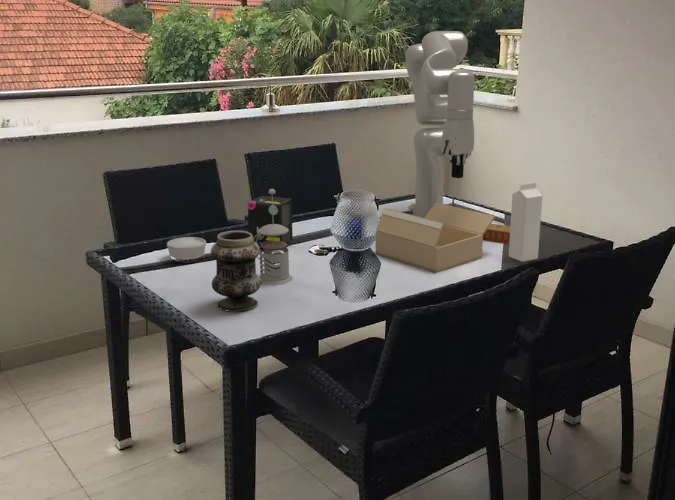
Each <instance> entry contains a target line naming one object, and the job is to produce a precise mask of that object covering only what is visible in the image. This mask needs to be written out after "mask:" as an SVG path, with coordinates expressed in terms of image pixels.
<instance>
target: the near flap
mask: <svg viewBox="0 0 675 500" xmlns="http://www.w3.org/2000/svg"><path fill="white" fill-rule="evenodd" d="M444 224H445V223H442V222H438V221H434V220H430V219H426V218H422V217H418V216H414V215H412V214H410V213H406V212H402V211H398V210H394V209H391V208H387V207H384V209H383V212H382V214H381V217H380V219H379V222H378V224H377V227H376V229H375V231H381V232H384V233H388V234H391V235H395V236H398V237H402V238H405V239H409V240H412V241H416V242H419V243H423V244H426V245H430V246H433V247H436V245H437V242H438V240H439V237H440V235H441V232H442V229H443V227H444Z"/></svg>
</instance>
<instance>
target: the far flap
mask: <svg viewBox="0 0 675 500" xmlns="http://www.w3.org/2000/svg"><path fill="white" fill-rule="evenodd" d="M425 218H426V219H430V220H434V221H438V222H442V223H445V224H444V225H446V226H450V227H454V228H458V229H462V230H466V231H470V232H474V233H477V234H481V235H483V234H484V233H485V231H486V230H487V228H488V227H489V226H490V224H493V221H494V220H495V218H496V216H495V215H494V214H493V215H492V214H489V213H483V212H479V211H475V210H470V209H466V208H462V207H456V206H453V205H449V204H445V203H443V204H440V203H435V204H434V205H433V207H432V208H431V210H430V211H429V212H428V214H427V215H426V216H425Z"/></svg>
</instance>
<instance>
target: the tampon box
mask: <svg viewBox="0 0 675 500" xmlns="http://www.w3.org/2000/svg"><path fill="white" fill-rule="evenodd" d="M292 201H293V200H292V198H286V197H278V196H277V197H276V196H273V216H272V196H270V195H269V196H268V195H261V196H260V195H259V196H258V197H256V198H254V199H251V200H249V201H247V221H248V222H247V224H248V225H247V226H248V227H247V228H248V230H247V232H249V233H251V234H252V236H253V238H254V237H255V236H256V235H257V234H260V233H259V232H258V230H259V229H260V228H261V227H263V226H266V225H268V224H273V222H274V224H278V225H282V226H284V227H286V228H287V229H289V230H288V233H286V234H284V235H279V236H274V241H279V242H285V243H286V244H289V243H290V242H291V241H294V240H293V237H294V236H293V203H292ZM260 235H261V238H262V239H260ZM260 235H259V236H258V235H257V236H258V238H257V236H256V237H255V238H254V242H256V239H257V244H258V245H259V246H261V244H262V243H264V242H265V243H266V242H268V241H273V236H267V235H262V234H260ZM263 236H264V238H263Z"/></svg>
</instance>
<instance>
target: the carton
mask: <svg viewBox="0 0 675 500" xmlns="http://www.w3.org/2000/svg"><path fill="white" fill-rule="evenodd" d="M510 226H511V225H505V224H499V223H491V224H490V226H489V227H488V228H487V230H486V231H485V233H484V234H483V241H484V242H491V243H497V244H506V245H509V242H510ZM540 235H541V234H540ZM540 235H539V238H540Z"/></svg>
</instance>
